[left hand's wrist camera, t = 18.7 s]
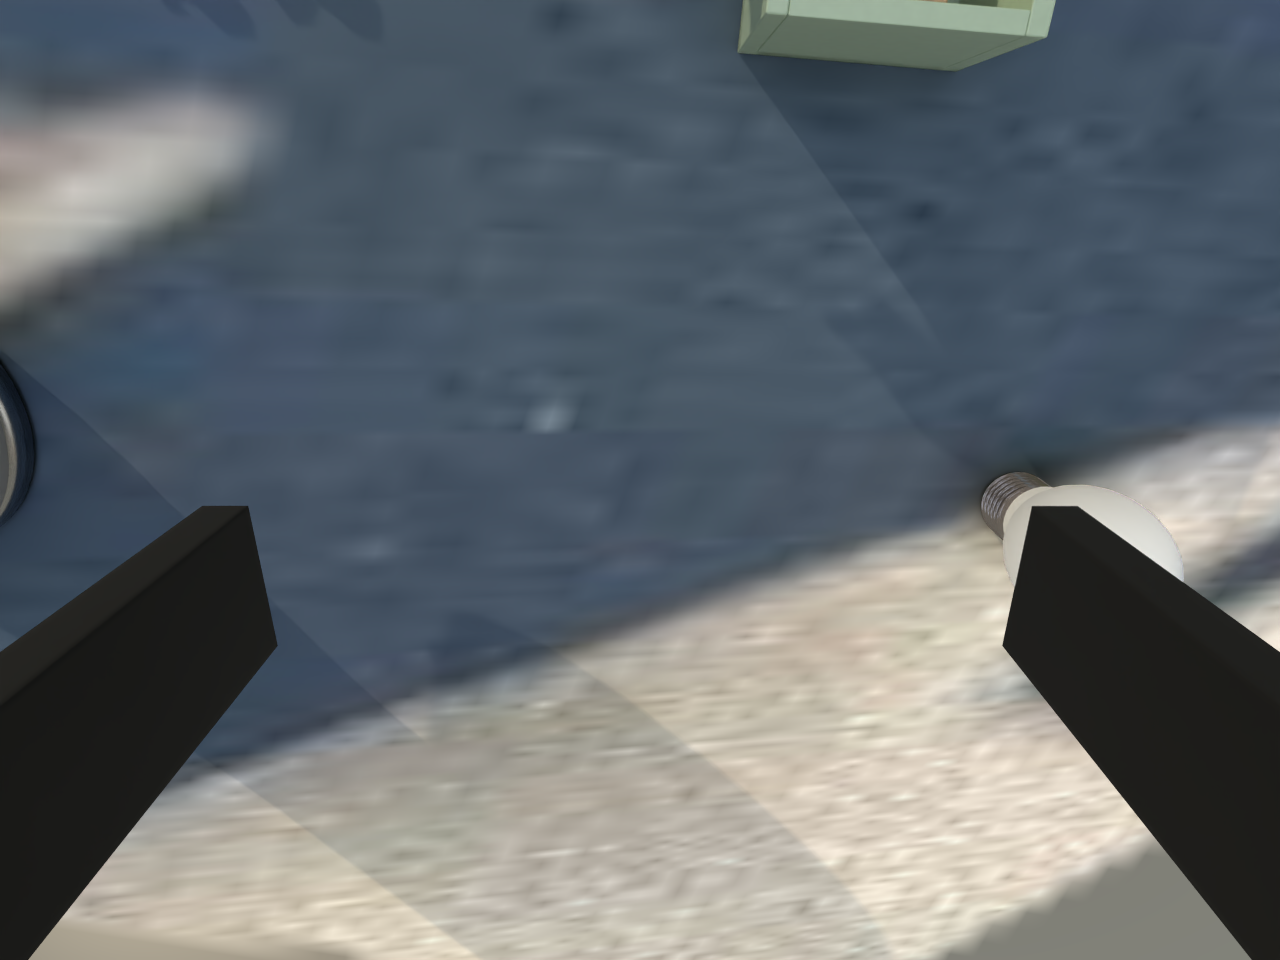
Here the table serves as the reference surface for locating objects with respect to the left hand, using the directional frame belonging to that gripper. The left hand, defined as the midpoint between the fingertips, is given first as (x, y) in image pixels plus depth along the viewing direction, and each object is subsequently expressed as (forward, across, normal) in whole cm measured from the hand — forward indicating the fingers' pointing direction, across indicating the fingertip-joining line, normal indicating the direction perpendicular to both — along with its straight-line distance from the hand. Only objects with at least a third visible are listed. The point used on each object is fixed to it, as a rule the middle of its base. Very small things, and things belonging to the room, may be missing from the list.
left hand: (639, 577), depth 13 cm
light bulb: (+27, +21, -10) cm, 35 cm away
